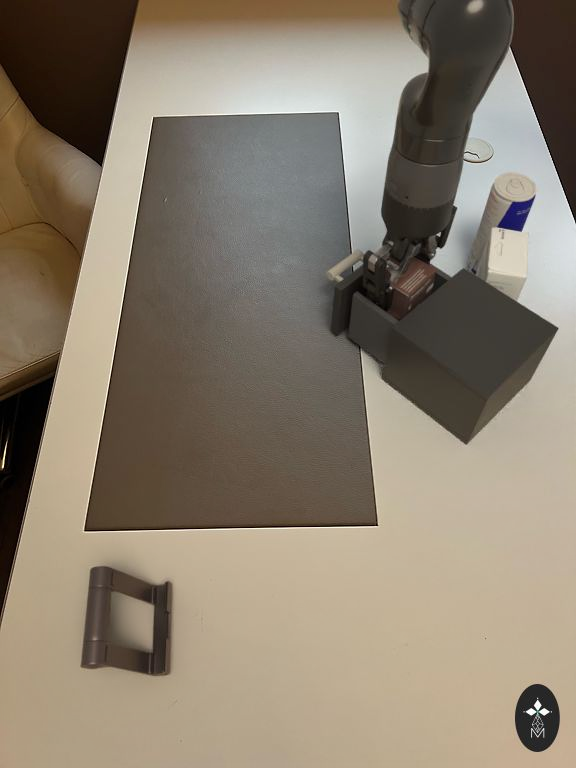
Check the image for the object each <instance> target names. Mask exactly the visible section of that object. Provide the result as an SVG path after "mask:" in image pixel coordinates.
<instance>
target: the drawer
mask: <svg viewBox="0 0 576 768" xmlns="http://www.w3.org/2000/svg"><path fill="white" fill-rule="evenodd" d="M364 254H365V253H364V252H363V250H361V249H358V248H357V249H356V250H355V251H354V252H352V253H351V254H349V255H347V257H345V258H344V259H342V260H341V261H340V262H338V263H337V264H336V265H334V266H333V267H331V268H330V269H329V270H327V271H326V273H325V275H326V278H327V280H329V281H331V282H333V281H336V282H337V283H336V284H335V285H334V286H333V299H332V311H331V312H332V314H331V315H332V316H331V326H330V329H331V330H330V331H331V332H332V333H333V334H335V335H336V336H339V335H340V334H341V333H342V332H344V331H345V330H347V328H348V334H347V336H348V338H349V339H351V340H352V341H353V342H354V343H356V344H357V345H358V346H359V347H361V348H362V349H363V350H365V351H366V352H367V353H368V354H370V355H371V356H373V357H374V358H376V359H377V360H378V361H379V362H381V364H383V365H385V360H386V355H387V350H388V345H389V340H390V335H391V329H392V327H393V326H394V325H395V324H396V323H397V322H399V321H398V320H396V319H395V318H394V317H392V316H391V315H389V314H388V313H387V312H385V311H384V310H382V309H381V308H380V307H378V306H377V305H375V304H374V303H373V302H371V301H370V300H368V299H367V290H368V289H366V288H365V287H364V286H363V256H364ZM359 262H361V263H362V264H361V265H360V266H358V267H357V268H356V269H354V270H353V271H352V272H351V273H349V274H348V275H346V276H345V277H342V275H343V274H344V273H345V272H347V271H348V270H350V269H351V268H352V267H353V266H355V265H356V264H357V263H359ZM430 266H432V267H433V268H435V269H437V271H436V274H435V278H434V283H433V287H432V291H431V294H432V293H434V292H435V291H436V290H437V289H438V288H440V287H441V286H442V285H443V284H444V283H446V282H447V281H448V280H449V279H450V278H452V277H453V276H451V275H450V274H448V273H446V272H445V271H443V270H441V268H439V267H437V266H436V265H434V264H433V263H431V262H430Z"/></svg>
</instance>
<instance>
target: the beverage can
mask: <svg viewBox="0 0 576 768" xmlns="http://www.w3.org/2000/svg"><path fill="white" fill-rule="evenodd" d="M494 179H495V180H494V182H493V184H492V185H491V188H490V191H489V194H488V197H487V200H486V203H485V206H484V210H483V212H482V216H481V219H480V222H479V226H478V228H477V231H476V235H475V238H474V241H473V244H472V247H471V251H470V254H469V257H468V260H467V264H466V267H467V270H468V271H469V272H471V273H473V274H474V275H476V272H477V269H478V266H479V263H480V260H481V258H482V255H483V252H484V249H485V246H486V243H487V240H488V237H489V234H490V231H491V228H492V227H493V228H495V227H497V228H503V229H508V230H514V231H519V232H523V229H524V227H525V225H526V222H527V220H528V217H529V215H530V212H531V209H532V207H533V204H534V201H535V199H536V196H537V190H538V189H537V185H536V183H535V182H534V181H533V179H531V178H530V177H529V176H527V175H525V174H523V173H520V172H504V173H502V174H499V175H498V176H497V177H496V178H494Z"/></svg>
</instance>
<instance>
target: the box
mask: <svg viewBox="0 0 576 768" xmlns="http://www.w3.org/2000/svg"><path fill="white" fill-rule="evenodd" d="M389 260H390V261H391V262H393V263H394V264H396V265H397V266H399V267H400V265H401V263H399V262H397V261H396V260H394V259H393V258H391V257H390V256H389ZM436 271H437V269H435V268H433V267H432V266H430V265H428V264H426V263H424V262H423V261H421V260H419V259H417V258H416V257H413V259H412V261H411V263H410V265H409V267H408V269H407V271H406V274H405V275H404V276H400V277H399V279H398V281H397V283H396V285H395V287H394V294H393V299H392V304H391V308H390V309H388V310H387V311H385V312H387V313H388V314H389V315H391V316H392V317H394V318H395V319H396V320H398V321H400V320H401V319H402V318H404V317H405V316H406V315H407V314H408V313H410V312H411V311H412V310H413V309H414V308H416V307H417V306H418V305H419V304H420V303H422V302H423V301H424V300H425V299H426V298H428V297H429V296H430V295H431V291H432V287H433V283H434V278H435V274H436ZM390 278H391V273H390V272H388V271H387V272H386V279H387V280H390ZM367 299H368V300H370V301H371V302H373V299H374V293H372V292H371V291H369V290H367Z"/></svg>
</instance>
